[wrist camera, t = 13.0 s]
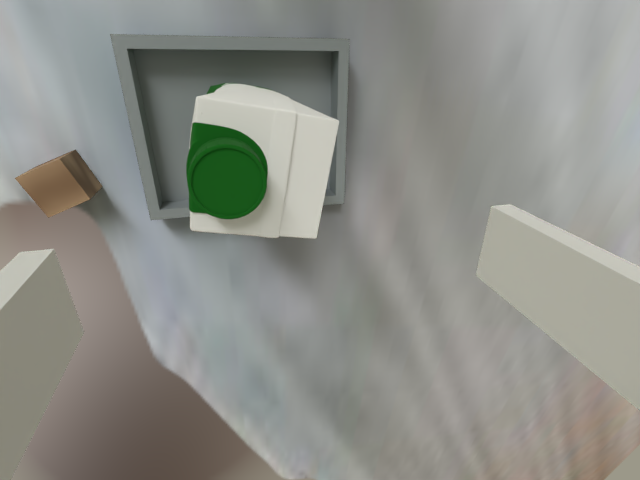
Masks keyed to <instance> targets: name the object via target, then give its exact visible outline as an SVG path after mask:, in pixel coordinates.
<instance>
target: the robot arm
mask: <svg viewBox="0 0 640 480" xmlns="http://www.w3.org/2000/svg"><path fill="white" fill-rule="evenodd" d="M476 276H477V277H478V278H479V279H481V280H482V281H483V282H484V283H485V284H487V285H488V286H489V287H490V288H491V289H493V290H494V291H495V292H496V293H498V294H499V295H500V296H501V297H502V298H504V299H505V300H506V301H507V302H508V303H510V304H511V305H512V306H513V307H515V308H516V309H517V310H518V311H519V312H521V313H522V314H523V315H524V316H525V317H527V318H528V319H529V320H530V321H531V322H533V323H534V324H535V325H536V326H538V327H539V328H540V329H541V330H542V331H544V332H545V333H546V334H547V335H548V336H550V337H551V338H552V339H553V340H555V341H556V342H557V343H558V344H559V345H561V346H562V347H563V348H564V349H565V350H567V351H568V352H569V353H570V354H571V355H573V356H574V357H575V358H576V359H578V360H579V361H580V362H581V363H582V364H584V365H585V366H586V367H587V368H588V369H590V370H591V371H592V372H593V373H595V374H596V375H597V376H598V377H599V378H601V379H602V380H603V381H604V382H605V383H607V384H608V385H609V386H610V387H611V388H613V389H614V390H615V391H616V392H618V393H619V394H620V395H621V396H622V397H624V398H625V399H626V400H627V401H628V402H630V403H631V404H632V405H633V406H635V407H636V408H637V409H638V410H639V411H640V267H639V266H637V265H635V264H633V263H631V262H629V261H627V260H625V259H623V258H621V257H618V256H616V255H614V254H612V253H610V252H608V251H606V250H604V249H602V248H600V247H598V246H596V245H594V244H592V243H590V242H587V241H585V240H583V239H581V238H579V237H577V236H575V235H573V234H571V233H569V232H567V231H565V230H563V229H561V228H558V227H556V226H554V225H552V224H550V223H548V222H546V221H544V220H542V219H540V218H538V217H536V216H534V215H532V214H530V213H527V212H525V211H523V210H521V209H519V208H517V207H515V206H513V205H511V204H508V205H498V206H491V210H490V214H489V218H488V223H487V227H486V232H485V236H484V241H483V245H482V250H481V254H480V258H479V263H478V267H477V272H476ZM83 334H84V331H83V328H82V325H81V322H80V319H79V317H78V314H77V311H76V308H75V305H74V303H73V300H72V297H71V295H70V292H69V289H68V286H67V284H66V281H65V278H64V275H63V272H62V270H61V267H60V264H59V261H58V258H57V256H56V253H55V250H54V249H48V250H38V251H28V252H20V253H19V254H18V255H17V256H16V257H15V258H13V260H11V261H10V262H9V263H8V264H7V265H6V266H5V267H4V268H3V269H2V270H1V271H0V480H11V479H12V477H13V475H14V473H15V471H16V469H17V467H18V465H19V463H20V461H21V459H22V457H23V455H24V453H25V451H26V449H27V447H28V445H29V443H30V441H31V439H32V437H33V435H34V433H35V431H36V429H37V427H38V425H39V423H40V421H41V419H42V417H43V415H44V412H45V411H46V409H47V406H48V404H49V402H50V400H51V399H52V396H53V394H54V392H55V390H56V388H57V386H58V384H59V382H60V380H61V378H62V376H63V374H64V372H65V370H66V368H67V366H68V364H69V362H70V360H71V358H72V356H73V354H74V352H75V350H76V348H77V346H78V344H79V342H80V340H81V338H82V336H83Z"/></svg>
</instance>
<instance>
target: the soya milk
mask: <svg viewBox="0 0 640 480" xmlns="http://www.w3.org/2000/svg"><path fill="white" fill-rule="evenodd" d="M338 126H339V120H336V119H334V118H331V117H329V116H327V115H325V114H322V113H320V112H318V111H316V110H314V109H311V108H309V107H307V106H305V105H302V104H300V103H298V102H296V101H294V100H292V99H290V98H289V97H288V96H285V95H282V94H280V93H278V92H276V91H273V90H271V89H267V88H263V87H258V86H252V85H246V84H238V83H222V84H218V85H214V86H210V88H209V90H208V92H207V94H206V95H202V96H197V97H196V101H195V108H194V114H193V120H192V126H191V135H190V146H189V153H188V157H187V163H186V176H187V185H188V191H189V210H190V229H191V230H192V231H198V232H210V233H223V234H235V235H248V236H260V237H265V238H278V237H279V236H283V237H297V238H313V239H316V238H317V234H318V228H319V223H320V218H321V213H322V208H323V203H324V198H325V192H326V187H327V182H328V177H329V172H330V167H331V162H332V156H333V151H334V146H335V141H336V136H337V131H338Z"/></svg>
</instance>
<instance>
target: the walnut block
mask: <svg viewBox="0 0 640 480" xmlns="http://www.w3.org/2000/svg"><path fill="white" fill-rule="evenodd" d="M15 179H16V180H17V181H18V182H19V184H20V185H21V186H22V187H23V188H24V189H25V191H26V192H27V193H28V194H29V195H30V196H31V198H32V199H33V200H34V201H35V202H36V204H37V205H38V206H39V207H40V208H41V209H42V211H43V212H44V213H45V214H46V215H47V217H51V216H53V215H56V214H58V213H60V212H63V211H64V210H67V209H69V208H72V207H74V206H76V205H78V204H81V203H83V202H85V201H87V200H90V199H91V198H92V197H93V196H94V195H95V194H96V193H97V192H98V191H99V190H100V189H101V188H102V185H101V184H100V182H99V181H98V180H97V178H96V177H95V176H94V174H93V173H92V171H91V170H90V169H89V167H88V166H87V165H86V163H85V162H84V160H83V159H82V158H81V156H80V155H79V154H78V152H77V151H76V150H74V151H71V152H69V153H67V154H64V155H62V156H60V157H57V158H55V159H53V160H50V161H48V162H46V163H44V164H41V165H39V166H37V167H35V168H33V169H31V170H29V171H27V172H25V173H24V174H22V175H20V176H18V177H16V178H15Z"/></svg>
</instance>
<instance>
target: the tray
mask: <svg viewBox="0 0 640 480" xmlns="http://www.w3.org/2000/svg"><path fill="white" fill-rule="evenodd" d="M110 36H111V40H112V45H113V49H114V54H115V59H116V63H117V68H118V72H119V77H120V82H121V86H122V91H123V95H124V100H125V105H126V109H127V114H128V118H129V123H130V128H131V132H132V137H133V141H134V146H135V150H136V155H137V160H138V164H139V169H140V173H141V178H142V183H143V187H144V192H145V196H146V201H147V206H148V210H149V215H150V219H151V220H160V219H171V218H183V217H190V210H189V191H188V185H187V176H186V163H187V157H188V153H189V146H190V135H191V126H192V120H193V114H194V108H195V101H196V97H197V96H202V95H206V94H207V92H208V90H209V88H210V86H214V85H218V84H222V83H238V84H246V85H252V86H258V87H263V88H267V89H271V90H273V91H276V92H278V93H280V94H282V95H285V96H288V97H289V98H290V99H292V100H294V101H296V102H298V103H300V104H302V105H305V106H307V107H309V108H311V109H314V110H316V111H318V112H320V113H322V114H325V115H327V116H329V117H331V118H334V119H336V120H339V126H338V131H337V136H336V141H335V146H334V151H333V156H332V162H331V167H330V172H329V177H328V182H327V187H326V192H325V198H324V203H323V205H333V204H344V192H345V161H346V131H347V100H348V69H349V39H331V38H280V37H228V36H177V35H125V34H110Z"/></svg>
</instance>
